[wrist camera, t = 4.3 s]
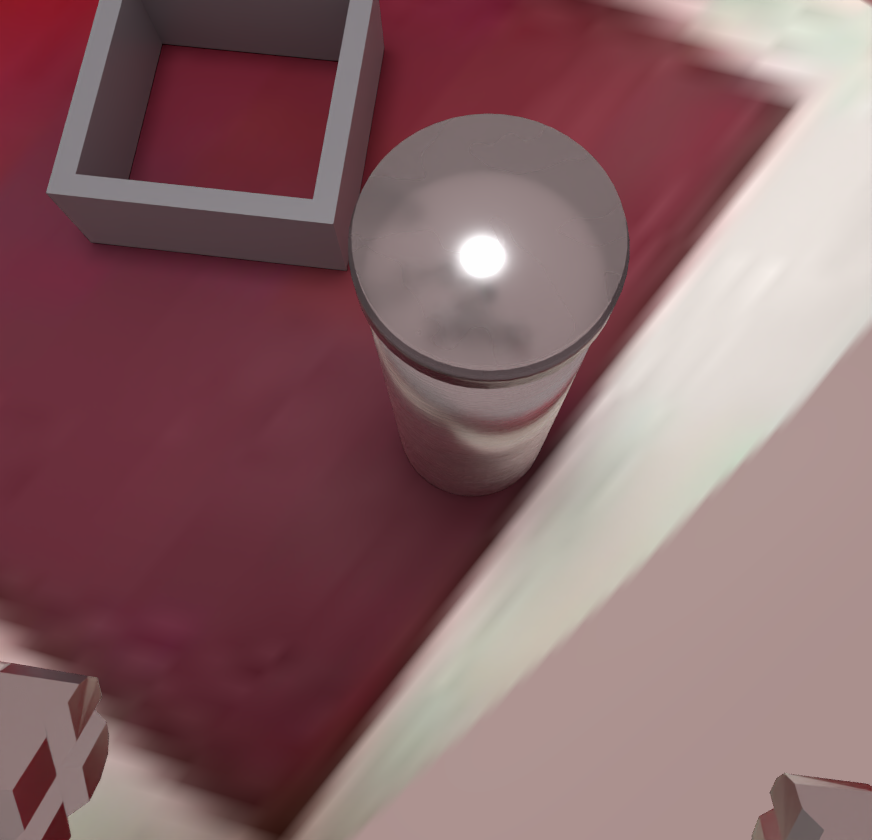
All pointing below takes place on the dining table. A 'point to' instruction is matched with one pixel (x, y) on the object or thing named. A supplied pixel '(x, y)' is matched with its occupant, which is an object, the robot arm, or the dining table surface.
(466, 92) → the dining table surface
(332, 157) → the socket
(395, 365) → the tube
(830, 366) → the dining table surface
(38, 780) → the robot arm
